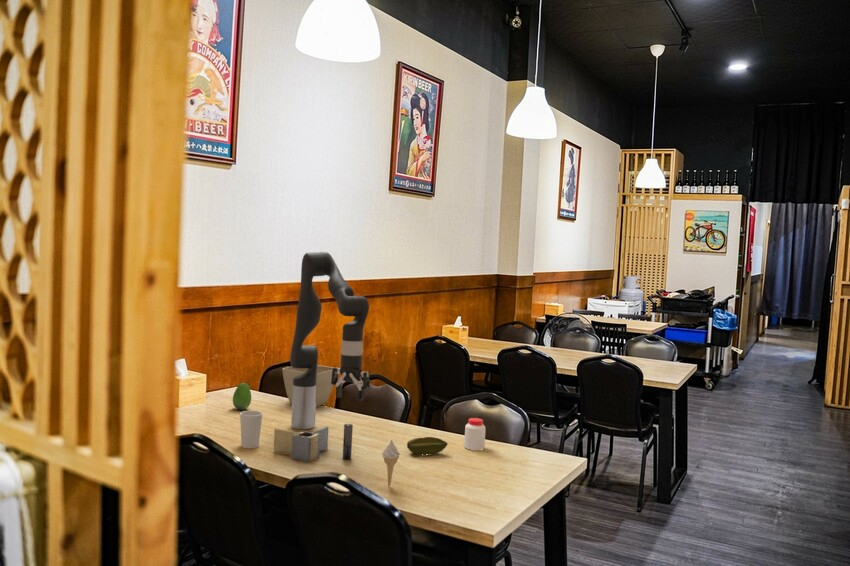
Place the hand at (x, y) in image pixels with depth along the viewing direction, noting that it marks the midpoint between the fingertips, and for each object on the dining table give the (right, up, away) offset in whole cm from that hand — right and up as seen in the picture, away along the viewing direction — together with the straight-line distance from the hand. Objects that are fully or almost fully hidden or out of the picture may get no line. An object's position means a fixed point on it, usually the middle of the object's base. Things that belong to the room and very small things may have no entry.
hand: (349, 398), depth 246 cm
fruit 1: (-55, -15, +64) cm, 85 cm away
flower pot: (-28, -16, +81) cm, 87 cm away
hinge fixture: (-18, -20, +6) cm, 27 cm away
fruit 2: (+27, -22, +11) cm, 37 cm away
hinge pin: (-1, -21, +1) cm, 21 cm away
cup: (-38, -19, +10) cm, 43 cm away
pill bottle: (+45, -23, +23) cm, 55 cm away
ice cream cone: (+15, -24, -25) cm, 38 cm away
